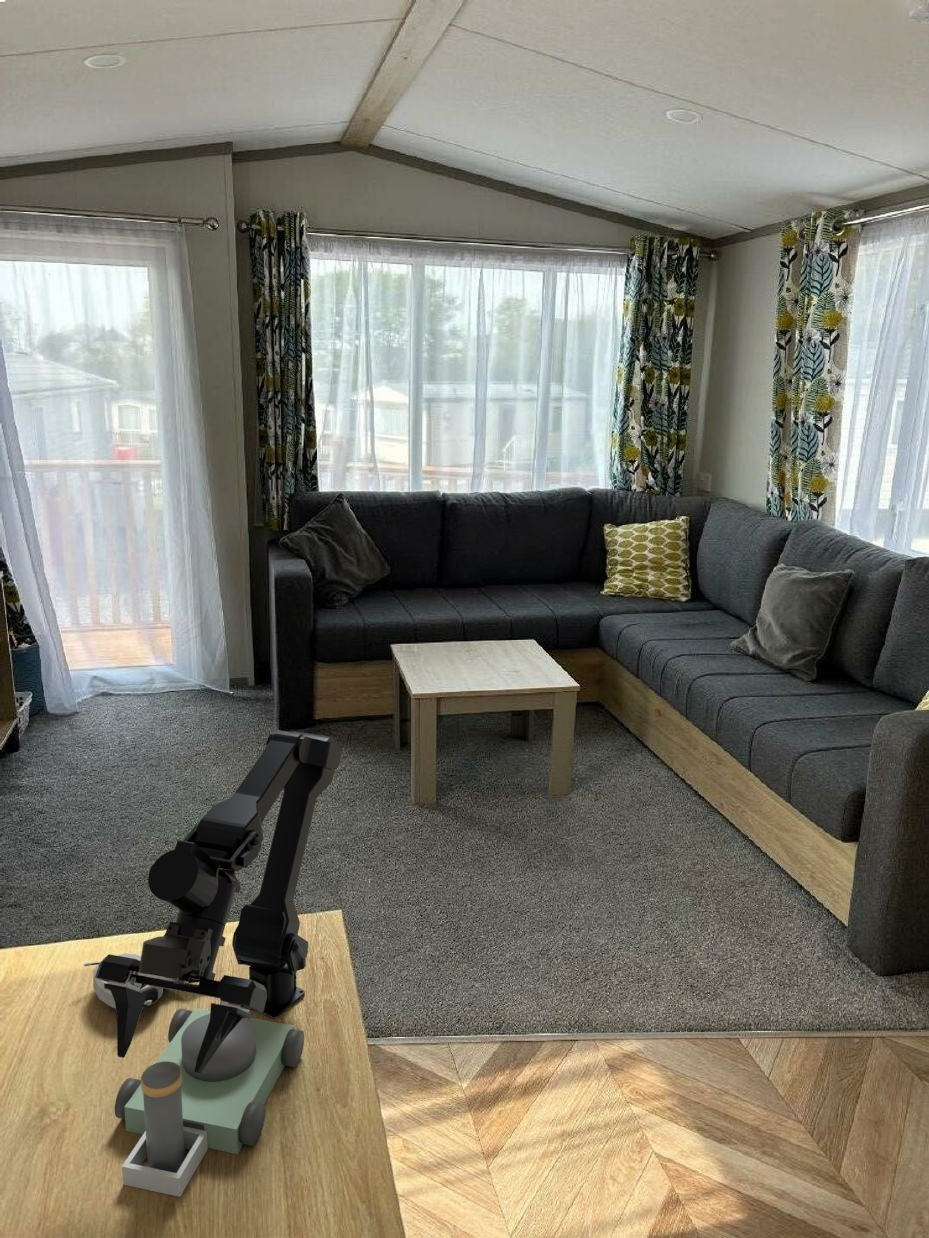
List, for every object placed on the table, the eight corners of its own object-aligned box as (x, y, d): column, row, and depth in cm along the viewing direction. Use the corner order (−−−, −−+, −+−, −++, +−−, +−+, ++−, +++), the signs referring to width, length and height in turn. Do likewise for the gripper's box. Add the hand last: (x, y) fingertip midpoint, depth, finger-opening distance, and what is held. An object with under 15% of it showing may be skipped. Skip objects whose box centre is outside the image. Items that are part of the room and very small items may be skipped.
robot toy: (175, 953, 151) (79, 989, 140) (176, 926, 150) (79, 960, 139) (218, 992, 143) (119, 1033, 132) (219, 964, 142) (120, 1003, 131)
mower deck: (185, 1027, 134) (183, 986, 132) (305, 1049, 131) (304, 1008, 129) (81, 1175, 110) (77, 1127, 108) (223, 1206, 107) (221, 1158, 105)
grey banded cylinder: (156, 1148, 114) (150, 1058, 111) (192, 1153, 114) (187, 1062, 110) (140, 1179, 110) (133, 1086, 106) (177, 1183, 110) (172, 1091, 106)
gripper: (97, 892, 111) (46, 1042, 104) (254, 919, 107) (211, 1075, 100) (139, 914, 120) (94, 1052, 113) (283, 939, 117) (246, 1082, 110)
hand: (158, 1064), depth 109 cm, fingers open, 9 cm apart
